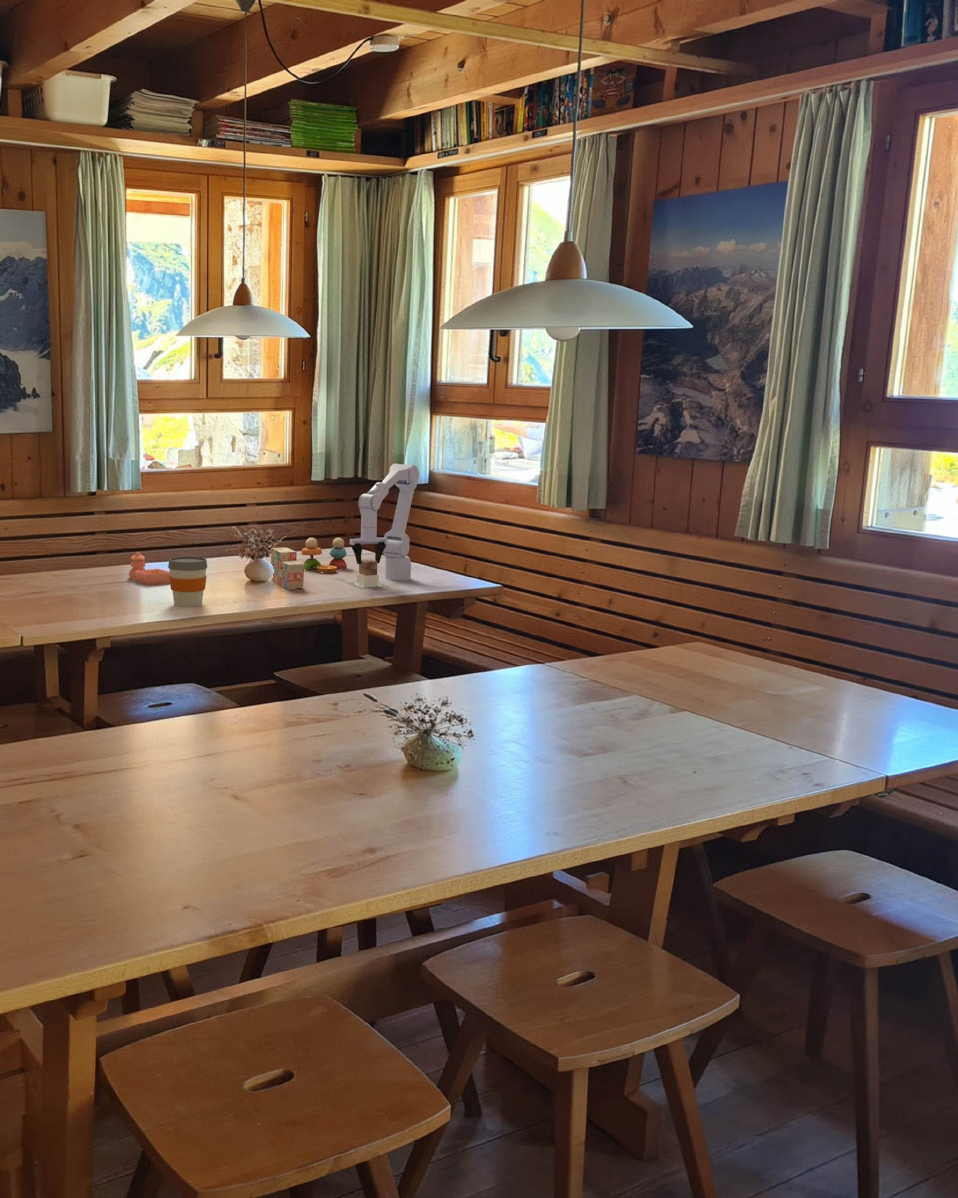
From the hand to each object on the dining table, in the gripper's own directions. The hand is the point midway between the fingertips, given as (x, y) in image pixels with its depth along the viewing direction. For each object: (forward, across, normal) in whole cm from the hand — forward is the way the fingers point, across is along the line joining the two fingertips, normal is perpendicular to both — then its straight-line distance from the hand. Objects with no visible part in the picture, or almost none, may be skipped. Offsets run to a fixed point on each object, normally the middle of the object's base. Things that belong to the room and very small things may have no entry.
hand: (368, 563), depth 435 cm
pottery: (+9, +71, -37) cm, 80 cm away
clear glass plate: (+8, 0, 0) cm, 8 cm away
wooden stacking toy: (+9, -2, -37) cm, 38 cm away
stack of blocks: (+9, +26, -14) cm, 31 cm away
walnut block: (+4, 0, 0) cm, 4 cm away
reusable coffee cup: (+8, +71, +9) cm, 72 cm away
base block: (+8, 0, 0) cm, 8 cm away
